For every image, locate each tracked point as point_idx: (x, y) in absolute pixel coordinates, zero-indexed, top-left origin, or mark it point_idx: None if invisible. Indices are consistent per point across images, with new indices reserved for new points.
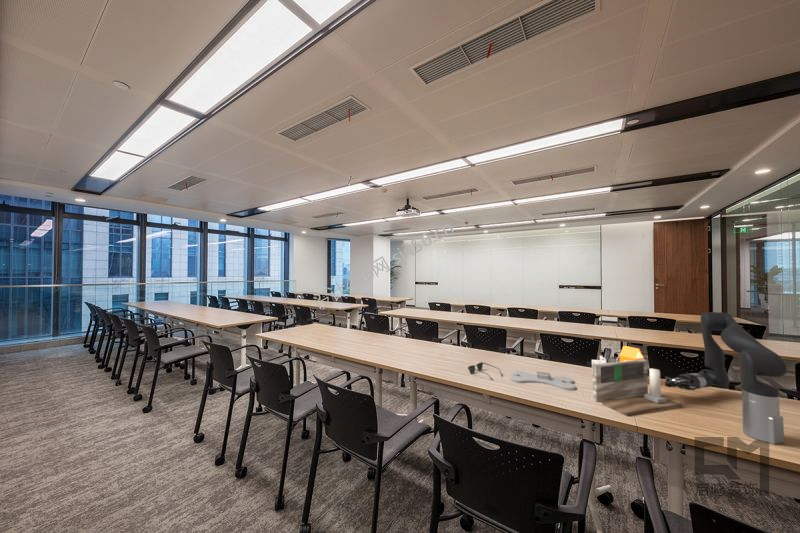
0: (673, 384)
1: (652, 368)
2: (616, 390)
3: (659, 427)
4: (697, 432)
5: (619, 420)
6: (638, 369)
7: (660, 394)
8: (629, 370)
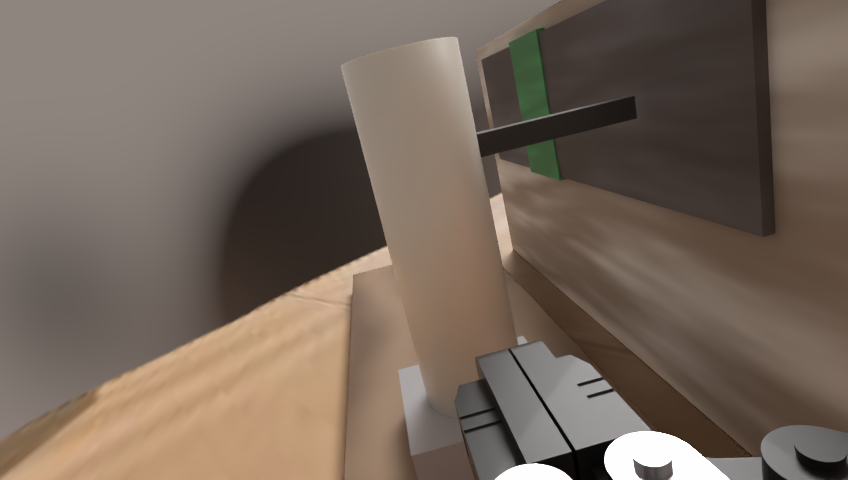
0: (470, 456)
1: (449, 38)
2: (557, 238)
3: (233, 336)
4: (87, 435)
5: (339, 273)
6: (670, 76)
7: (425, 375)
8: (589, 87)
